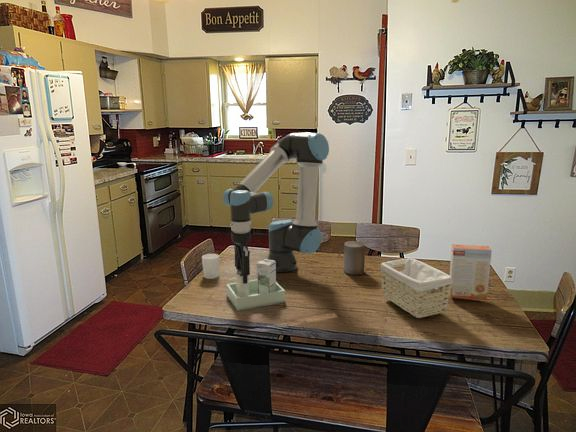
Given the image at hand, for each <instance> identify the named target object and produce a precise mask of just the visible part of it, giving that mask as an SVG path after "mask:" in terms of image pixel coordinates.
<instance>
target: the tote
mask: <svg viewBox="0 0 576 432" xmlns="http://www.w3.org/2000/svg"><path fill="white" fill-rule="evenodd" d="M226 297H227V299H228V300H229V301H230V303H231V304H232V306H233V307H234V309H235V310H236V311H237V312H239V311H240V312H241V311H245V310H251V309H256V308H261V307H266V306H267V307H268V306H272V305H279V304H283V303H286V290H285V289H284V288H283V287H282V286H281V285H280V284H279V283H278V281H276V291H274V292H268V293H262V294H258V278H256V279H252V280H250V279H249V296H245V297H238V296H237V295H236V282H232V283H226Z"/></svg>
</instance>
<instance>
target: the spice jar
mask: <svg viewBox="0 0 576 432" xmlns="http://www.w3.org/2000/svg"><path fill="white" fill-rule="evenodd" d="M240 274H241V270H239V271H237V270H236V272H235V283H236V295H237V296H238V297H245V296H249V281H250V278H249V277H250V275H248V291H241V276H240Z"/></svg>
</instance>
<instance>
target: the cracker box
mask: <svg viewBox="0 0 576 432" xmlns="http://www.w3.org/2000/svg"><path fill="white" fill-rule="evenodd" d="M450 250H451V251H450V252H451V253H450V264H449V265H450V266H449V275H450V276H451V277H452V281H453V283H452V284H451V286H450V293H449V294H450V295H449V297H450V298H459V299H460V298H461V299H474V300H484V301H485V300H486V301H487V300H488V291H489V281H490V270H491V261H492V260H491V259H492V253H493V252H492V251H493V250H492V249H491V247H490V246H489V245H488V246H487V245H471V244H470V245H469V244H453V243H452V244H451V249H450Z"/></svg>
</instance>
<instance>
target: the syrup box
mask: <svg viewBox="0 0 576 432" xmlns="http://www.w3.org/2000/svg"><path fill="white" fill-rule="evenodd" d="M256 266H257V267H256V271H257V273H256V275H257V279H258V294H262V293H268V292H274V291H276V282H277V280H276V279H277V274H276V273H277V272H276V262H275V261H274V260H267V258H263V259H261V260H259V261H257V263H256Z"/></svg>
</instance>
